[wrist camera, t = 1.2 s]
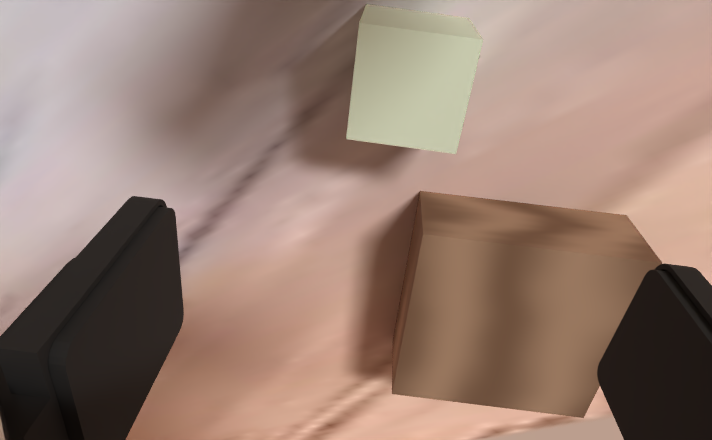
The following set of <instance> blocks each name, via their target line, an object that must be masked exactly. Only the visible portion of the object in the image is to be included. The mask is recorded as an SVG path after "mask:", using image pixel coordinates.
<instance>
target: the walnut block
mask: <svg viewBox="0 0 712 440" xmlns="http://www.w3.org/2000/svg"><path fill="white" fill-rule="evenodd" d="M660 264H662V262H661V261H660V259H659V258H658V257H657V255H656V254H655V253H654V251H653V250H652V249H651V247H650V246H649V245H648V243H647V242H646V241H645V239H644V238H643V237H642V235H641V234H640V233H639V231H638V230H637V229H636V227H635V226H634V225H633V223H632V222H631V221H630V219H629V218H628V217H627V215H619V214H610V213H602V212H594V211H585V210H577V209H568V208H560V207H551V206H543V205H534V204H526V203H517V202H509V201H500V200H492V199H483V198H475V197H467V196H458V195H450V194H441V193H433V192H424V191H420V194H419V200H418V205H417V211H416V216H415V222H414V227H413V233H412V238H411V244H410V249H409V255H408V260H407V266H406V271H405V277H404V282H403V288H402V293H401V299H400V304H399V310H398V315H397V321H396V326H395V332H394V337H393V365H392V394H397V395H405V396H413V397H421V398H429V399H437V400H445V401H453V402H461V403H469V404H477V405H485V406H493V407H501V408H509V409H517V410H525V411H533V412H541V413H549V414H557V415H565V416H573V417H581V418H584V416H585V414H586V412H587V410H588V408H589V406H590V404H591V402H592V400H593V398H594V396H595V394H596V392H597V390H598V388H599V386H600V384H599V381H598V377H597V369H598V365H599V362H600V360H601V358H602V357H603V355H604V353H605V351H606V349H607V347H608V345H609V343H610V341H611V339H612V337H613V336H614V334H615V332H616V330H617V328H618V326H619V324H620V322H621V320H622V318H623V316H624V314H625V313H626V311H627V309H628V307H629V305H630V303H631V301H632V299H633V297H634V295H635V293H636V291H637V290H638V288H639V286H640V284H641V282H642V280H643V278H644V276H645V275H646V273H647V272H648V271H650V270H655V268H656V267H657V266H659V265H660Z"/></svg>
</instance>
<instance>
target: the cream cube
mask: <svg viewBox="0 0 712 440" xmlns="http://www.w3.org/2000/svg"><path fill="white" fill-rule="evenodd" d="M482 43H483V39H482V37H481V36H480V34H479V33H478V31H477V30H476V28H475V27H474V25H473V23H472V22H471V20H470V19H469V18H465V17H458V16H450V15H443V14H435V13H428V12H421V11H413V10H406V9H399V8H391V7H384V6H376V5H369V4H366V6H365V8H364V11H363V14H362V16H361V19H360V22H359V28H358V37H357V46H356V55H355V64H354V73H353V82H352V91H351V100H350V109H349V118H348V127H347V135H346V139H349V140H356V141H364V142H371V143H378V144H386V145H393V146H400V147H408V148H415V149H422V150H430V151H437V152H444V153H451V154H456V152H457V148H458V144H459V139H460V135H461V131H462V127H463V123H464V118H465V114H466V110H467V106H468V102H469V97H470V93H471V89H472V85H473V81H474V76H475V72H476V68H477V64H478V59H479V55H480V51H481V47H482Z"/></svg>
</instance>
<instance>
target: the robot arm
mask: <svg viewBox="0 0 712 440" xmlns="http://www.w3.org/2000/svg"><path fill="white" fill-rule="evenodd" d="M183 315H184V312H183V299H182V287H181V275H180V264H179V252H178V240H177V228H176V216H175V212H174V210H173V209H172V208H167V206H166V203H165V201H163V200H161V199H153V198H145V197H137V196H132V197H131V198H129V199H128V200H127V202H126V203H125V204H124V205H123V206H122V207H121V208H120V209H119V210H118V211H117V213H116V214H115V215H114V216H113V217H112V218H111V219H110V220H109V221H108V223H107V224H106V225H105V226H104V227H103V228H102V229H101V230H100V231H99V232H98V234H97V235H96V236H95V237H94V238H93V239H92V240H91V241H90V242H89V243H88V245H87V246H86V247H85V248H84V249H83V250H82V251H81V252H80V253H79V255H78V256H77V257H76V258H73V259H72V260H71V261H70V262H68V263H67V264H66V265H65V266H64V267H63V269H62V270H61V271H60V272H59V273H58V274H57V275H56V276H55V277H54V278H53V280H52V281H51V282H50V283H49V284H48V285H47V286H46V287H45V288H44V289H43V290H42V292H41V293H40V294H39V295H38V296H37V297H36V298H35V299H34V300H33V301H32V302H31V304H30V305H29V306H28V307H27V308H26V309H25V310H24V311H23V312H22V313H21V314H20V316H19V317H18V318H17V319H16V320H15V321H14V322H13V323H12V324H11V325H10V327H9V328H8V329H7V330H6V331H5V332H4V333H3V334H2V335H1V336H0V440H125V439H126V437H127V435H128V433H129V431H130V429H131V427H132V425H133V423H134V421H135V419H136V417H137V415H138V413H139V411H140V409H141V407H142V405H143V403H144V401H145V399H146V397H147V395H148V393H149V391H150V389H151V387H152V385H153V383H154V381H155V379H156V377H157V375H158V373H159V371H160V369H161V367H162V365H163V363H164V361H165V359H166V357H167V355H168V353H169V351H170V349H171V347H172V345H173V343H174V341H175V339H176V337H177V335H178V333H179V331H180V329H181V326H182V322H183ZM597 377H598V381H599V384H600V386H601V389H602V391H603V393H604V395H605V398H606V400H607V402H608V404H609V407H610V409H611V411H612V413H613V416H614V418H615V420H616V422H617V425H618V427H619V429H620V431H621V434H622V436H623V438H624V440H712V286H711V284H710V283H709V282H708V281H707V280H706V279H705V277H704V276H703V275H702V274H701V273H700V272H699V271H698V270H697V269H696V268H693V267H687V266H679V265H671V264H660V265H659V266H657V267H656V268H655V270H650V271H648V272H647V273H646V275H645V276H644V278H643V280H642V282H641V284H640V286H639V288H638V290H637V291H636V293H635V295H634V297H633V299H632V301H631V303H630V305H629V307H628V309H627V311H626V313H625V314H624V316H623V318H622V320H621V322H620V324H619V326H618V328H617V330H616V332H615V334H614V336H613V337H612V339H611V341H610V343H609V345H608V347H607V349H606V351H605V353H604V355H603V357H602V358H601V360H600V362H599V365H598V369H597Z"/></svg>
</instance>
